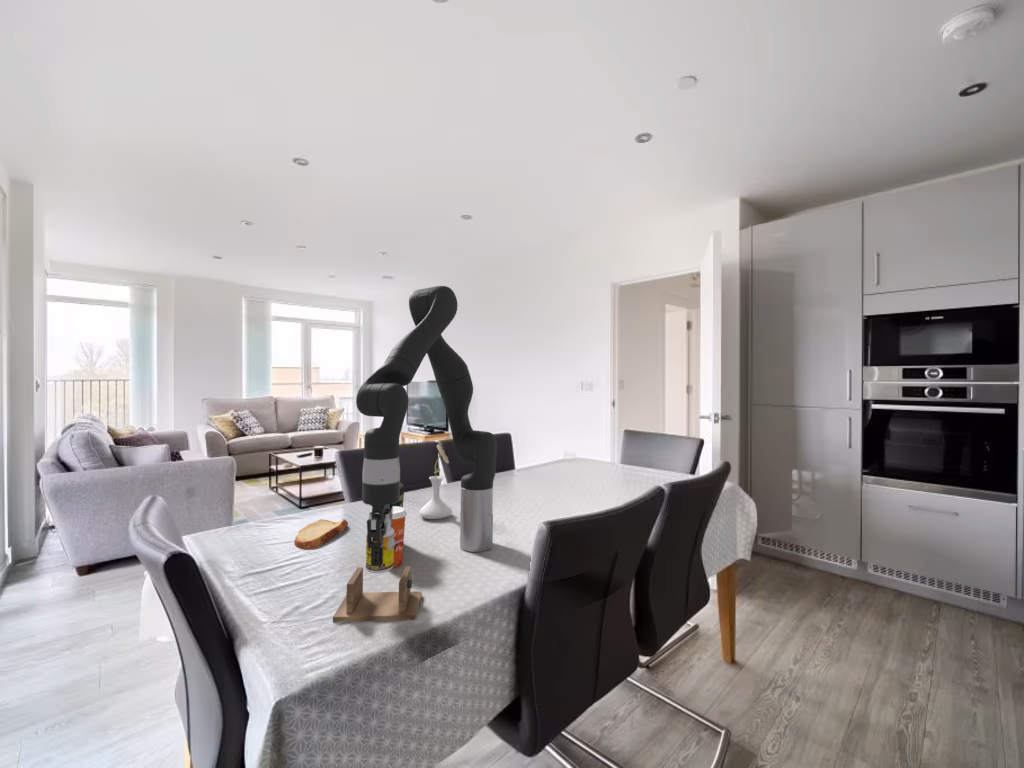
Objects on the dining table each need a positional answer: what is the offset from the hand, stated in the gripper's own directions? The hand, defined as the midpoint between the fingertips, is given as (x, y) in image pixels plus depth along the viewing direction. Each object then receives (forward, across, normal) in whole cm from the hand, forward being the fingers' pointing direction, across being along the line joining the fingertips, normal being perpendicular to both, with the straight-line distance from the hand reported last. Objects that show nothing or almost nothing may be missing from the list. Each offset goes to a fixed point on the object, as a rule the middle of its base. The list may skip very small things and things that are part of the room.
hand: (380, 559), depth 94 cm
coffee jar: (+10, +34, +5) cm, 36 cm away
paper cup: (+10, +23, +2) cm, 25 cm away
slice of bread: (+11, +45, +26) cm, 53 cm away
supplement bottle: (+2, 0, 0) cm, 2 cm away
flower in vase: (+10, +63, -6) cm, 64 cm away
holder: (+10, 0, 0) cm, 10 cm away
